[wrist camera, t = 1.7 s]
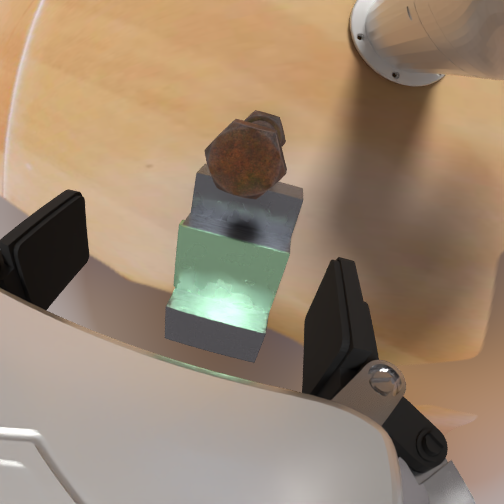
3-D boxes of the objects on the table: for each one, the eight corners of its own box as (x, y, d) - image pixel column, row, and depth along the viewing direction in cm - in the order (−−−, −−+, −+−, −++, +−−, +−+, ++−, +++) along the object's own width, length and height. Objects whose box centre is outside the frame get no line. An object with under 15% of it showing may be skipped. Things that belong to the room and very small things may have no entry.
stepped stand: (202, 163, 36) (170, 196, 27) (302, 188, 36) (304, 230, 27) (185, 287, 47) (162, 337, 38) (263, 308, 47) (254, 362, 38)
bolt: (293, 147, 33) (290, 195, 21) (250, 155, 35) (221, 208, 22) (281, 98, 30) (270, 112, 18) (237, 108, 32) (196, 131, 19)
